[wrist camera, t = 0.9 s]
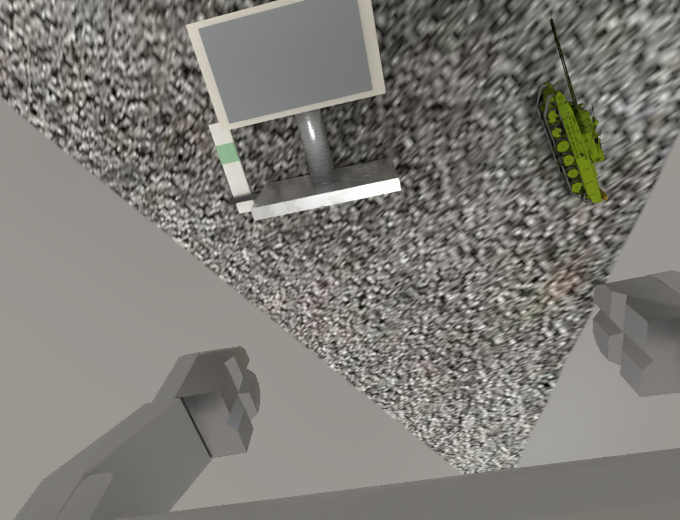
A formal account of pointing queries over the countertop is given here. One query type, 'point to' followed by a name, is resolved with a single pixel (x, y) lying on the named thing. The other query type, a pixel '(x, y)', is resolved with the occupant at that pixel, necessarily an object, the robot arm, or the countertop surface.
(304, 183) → the plate
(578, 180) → the toy tank
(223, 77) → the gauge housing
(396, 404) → the countertop surface
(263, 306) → the countertop surface
